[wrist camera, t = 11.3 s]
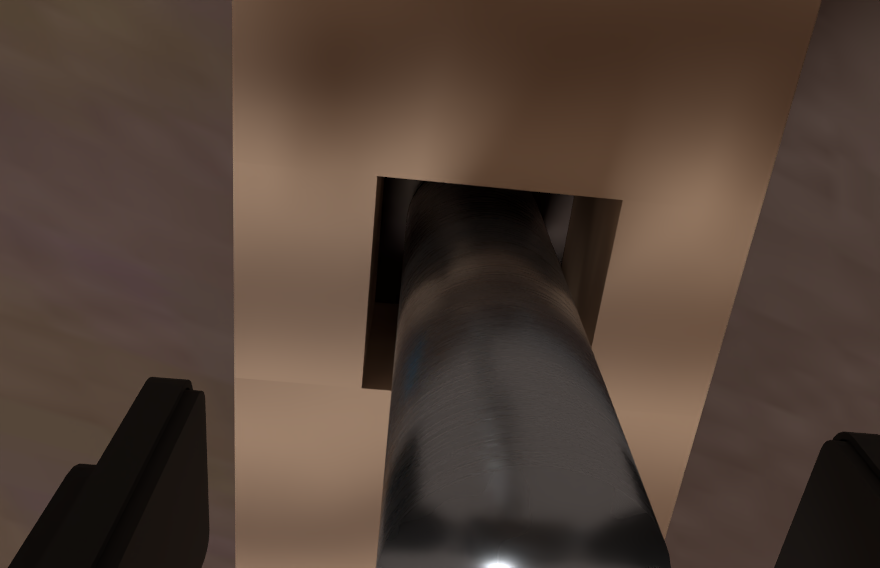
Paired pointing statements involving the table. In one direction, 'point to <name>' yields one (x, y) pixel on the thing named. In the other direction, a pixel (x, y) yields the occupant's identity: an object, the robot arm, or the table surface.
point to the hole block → (491, 165)
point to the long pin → (501, 404)
